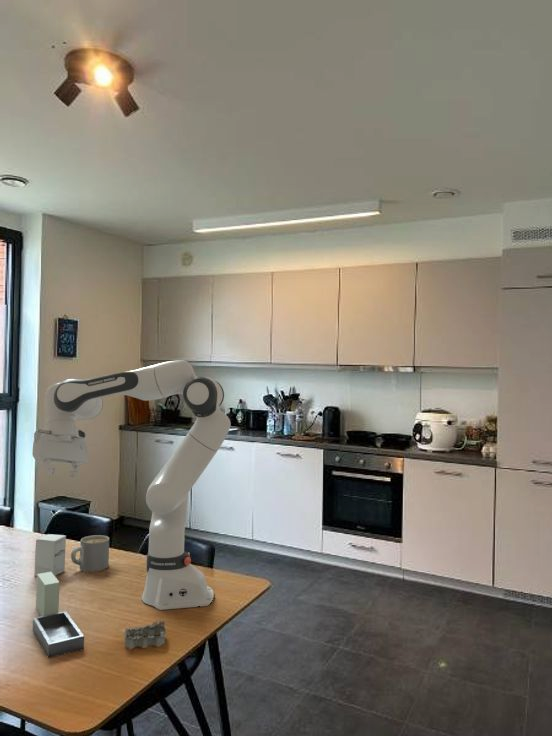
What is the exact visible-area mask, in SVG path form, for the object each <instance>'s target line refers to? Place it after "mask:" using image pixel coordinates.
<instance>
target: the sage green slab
mask: <svg viewBox="0 0 552 736" xmlns="http://www.w3.org/2000/svg"><path fill="white" fill-rule="evenodd" d="M59 605H60V581H59V580H58V578H57V577H56V576H54V575H53V573H52V572H46V573H40V574H37V576H36V597H35V608H36V610H37V612H38V613H39V615H40V616H45V615H49V614H54V613H59V612H60V611H59V610H60V608H59V607H60V606H59Z"/></svg>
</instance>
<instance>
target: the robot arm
mask: <svg viewBox="0 0 552 736" xmlns="http://www.w3.org/2000/svg"><path fill="white" fill-rule="evenodd" d="M45 391H46V392H45V394H44V395H45V396H44V413H45V426H44V427H45V429H41V428H39V429H37V430H35V432H34V433H33V443H32V457H33V459H34V460H40V461H42V464H43V466H44V467H45V469H46V475H47V476H52V475H55V473H56V472H55V467H53V465H52V463H53V462H55V463H63V464H64V463H65V464H71V467H72V470H71V471H69V474H70V475H69V476H70V477H71V478H76V477H78V475H79V474H78V471H79V469H80V466H81V465H83V464H86V463H88V461H89V457H90V456H89V455H90V454H89V445H88V442H87V438H88V433H86V432H85V431H83V430H82V429H81V428H79V427H78V426H76V425H75V424H76V423H75V421H76V420H91V419H94V418H96V417H97V416H99V414H100V413H101V411H102V409H103V406H104V403H103V398H105V397H109V396H113V395H123V396H124V395H125V396H128V397H132V398H136V399H138V400H141V401H145V402H147V401H156V400H157V401H158V400H161V399H164V398H167V397H170V396H174V395H182V398H183V400H184V403H185V405H186V406H187V407H188V408H189V409H190V410H191V412H192V414H193V415H194V416H195V417H196V420H195V421H194V424H193V425H192V426H191V428H190V429H189V431H187V433H186V435H185V436H184V438H183V439H182V440H181V442H180V444H179V445H178V446H177V448H176V449H175V451H174V452H173V454H171V456H170V458H169V459H168V460H167V461H166V462H165V464H164V466H162V468H161V469H160V471H159V472H158V473H157V475H156V476H155V477H154V479H153V480H152V482H151V483H150V484H149V486H148V487H147V491H146V494H145V502H146V505H147V507H148V509H149V510H150V511H151V513H152V514H151V519H150V524H149V529H148V530H149V531H148V532H149V533H148V552H147V553H146V561H145V562H146V564H145V569H146V579H145V584H144V589H143V593H142V596H141V601H142V602H143V603H144V604H146V605H148V606H152V607H155V609H158V610H160V611H163V610H172V609H173V610H175V609H176V610H177V609H185V608H186V609H187V608H197V607H198V606H200V607H206V606H209V605H210V603H211V602H212V603H213V601H214V599H213V598H215V594H214V590H213V588H212V587H210V586H208V583H207V582H208V581H207V579H206V577H205V574H204V573H203V572H202V571H201V570H199V568H197V567H196V566H194V565H192V564H191V562H192V559H191V555H190V552H189V551H188V552H187V551H185V530H186V520H187V511H188V504H189V503H188V501H189V493H190V491H191V490H192V488H193V487H194V485H195V484H196V482H197V481H198V479H200V477H201V475H202V474H203V473H204V471H205V470H206V469H207V467H208V465H209V464H210V462H211V461H212V459H213V458H214V457H215V455H216V454H217V453H218V451H219V450H220V448H221V446H222V445H223V443H224V441H225V440H226V437H227V435H228V433H229V432H230V428H231V426H232V425H231V420H230V418H229V416H228V415H227V414H226V413H225V412H224V411H222V410H221V405H222V403H223V401H224V399H225V392H224V388H223V386H222V385H221V383H219V382H218V381H216V380H215V379H214V378H211V377H209V376H199V375H198V376H197V374H196V373H195V370H194V368H193V366H192V364H191V363H190V362H189V361H188V360H184V359H177V360H175V359H174V360H170V361H164V362H161V363H157V364H153V365H149V366H146V367H145V366H144V367H141V368H138V369H134V370H133V369H132V370H129V371H128V370H127V371H123V372H116V373H112V374H107V375H101V376H97V377H92V378H89V379H78V378H77V379H76V378H68V379H64V380H63V381H61V382H57V383H54V384H52V385H50V386H48V388H47V389H46V390H45ZM212 600H213V601H212ZM212 603H211V604H212Z"/></svg>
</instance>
